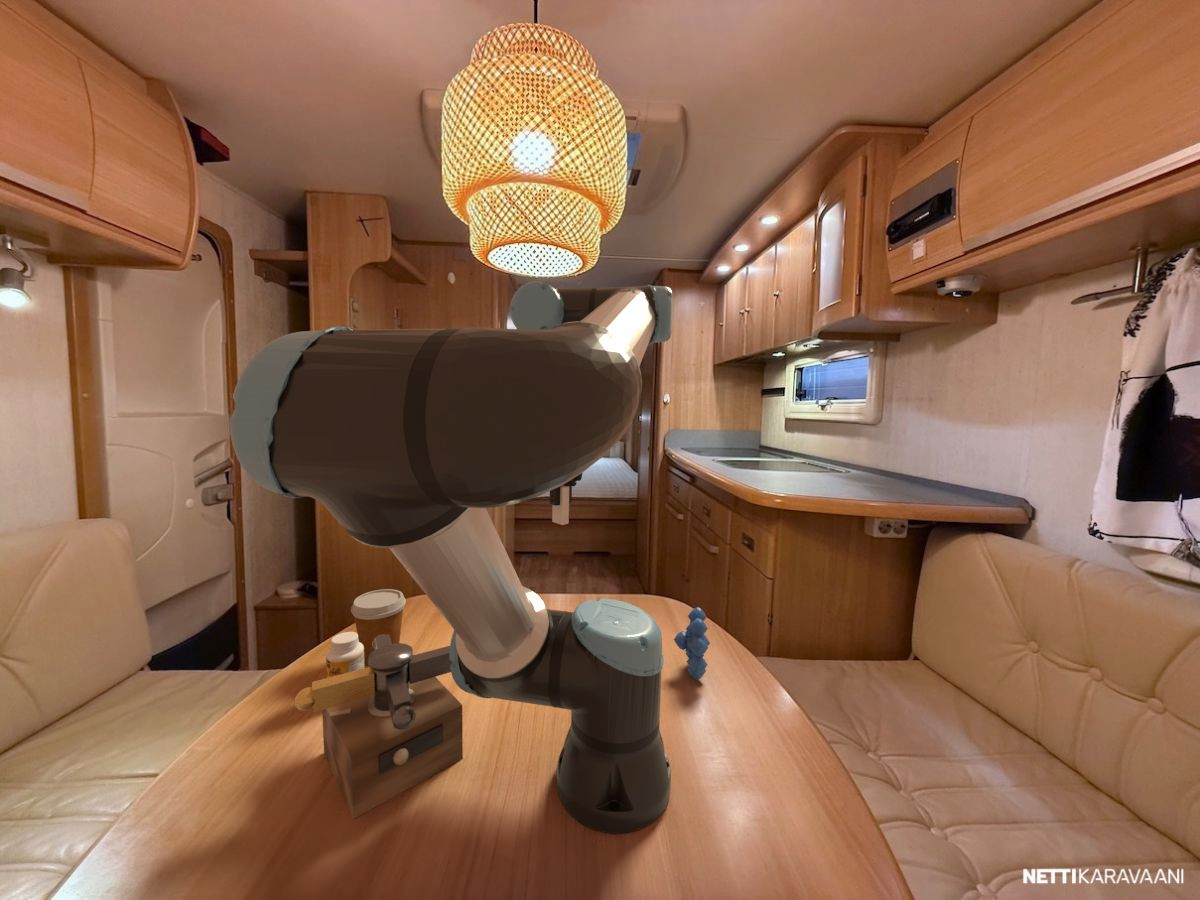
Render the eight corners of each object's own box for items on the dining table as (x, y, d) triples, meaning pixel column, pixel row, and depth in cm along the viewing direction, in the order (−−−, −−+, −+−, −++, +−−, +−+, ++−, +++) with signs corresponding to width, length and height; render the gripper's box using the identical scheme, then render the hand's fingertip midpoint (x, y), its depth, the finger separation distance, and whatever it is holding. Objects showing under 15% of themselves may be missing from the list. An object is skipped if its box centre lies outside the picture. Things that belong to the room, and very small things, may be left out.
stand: (467, 764, 62) (467, 708, 62) (355, 829, 53) (353, 763, 52) (421, 707, 74) (420, 659, 73) (322, 752, 64) (319, 697, 63)
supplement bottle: (320, 697, 76) (318, 639, 75) (352, 680, 80) (350, 625, 79) (340, 709, 73) (337, 649, 72) (372, 691, 78) (370, 634, 77)
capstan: (451, 643, 78) (451, 605, 78) (496, 719, 60) (496, 670, 59) (297, 683, 66) (295, 639, 65) (293, 794, 48) (291, 734, 47)
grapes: (672, 652, 92) (674, 595, 91) (705, 655, 91) (708, 598, 90) (672, 687, 81) (675, 623, 80) (711, 691, 80) (714, 626, 79)
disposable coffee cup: (392, 672, 83) (391, 610, 82) (341, 670, 83) (339, 608, 82) (415, 645, 93) (414, 588, 91) (369, 643, 93) (367, 587, 92)
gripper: (577, 388, 84) (574, 513, 86) (517, 384, 75) (516, 524, 77) (605, 387, 78) (602, 521, 80) (544, 384, 69) (543, 534, 71)
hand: (560, 522), depth 79 cm, fingers closed
